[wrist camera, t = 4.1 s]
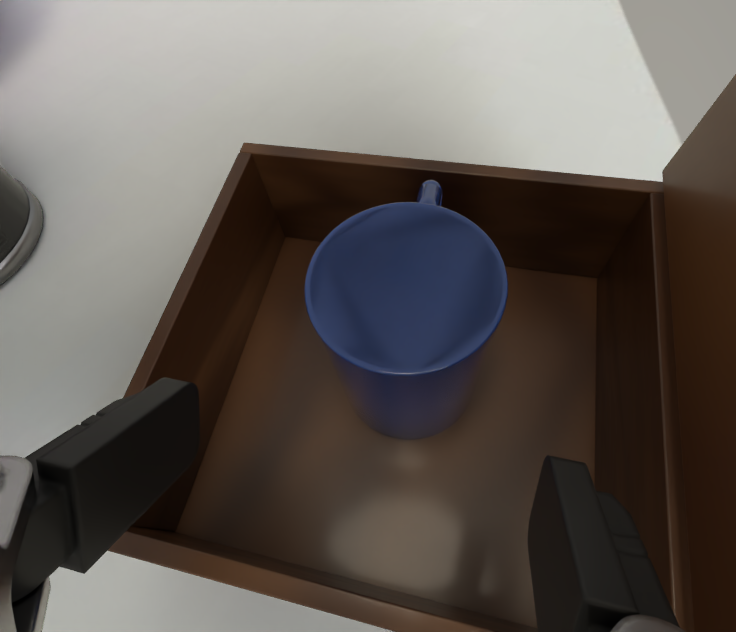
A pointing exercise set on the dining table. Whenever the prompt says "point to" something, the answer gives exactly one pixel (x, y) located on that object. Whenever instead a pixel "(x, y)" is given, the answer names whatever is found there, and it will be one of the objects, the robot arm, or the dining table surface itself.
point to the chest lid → (706, 351)
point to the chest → (432, 454)
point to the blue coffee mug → (407, 311)
